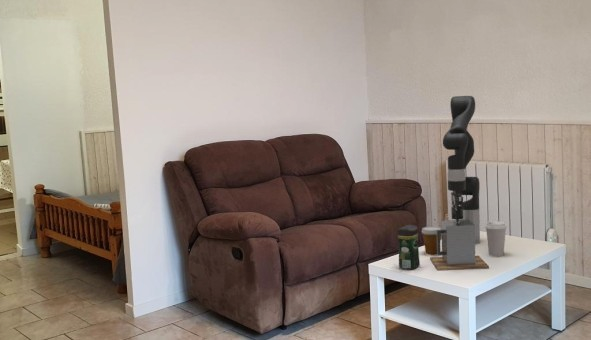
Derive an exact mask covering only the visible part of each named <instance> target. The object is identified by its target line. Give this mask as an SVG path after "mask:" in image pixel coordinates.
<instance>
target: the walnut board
mask: <svg viewBox="0 0 591 340" xmlns="http://www.w3.org/2000/svg"><path fill="white" fill-rule="evenodd" d="M429 260H430V262H431V263H432V266H434V268H435V270H436V271H453V270H454V271H458V270H484V269H490V266H489V264H488V263H487V262H486V261H485V260H484V259H482V257H481V256H480V255H475V265H456V266H447V265H446V263H445V262H444V260H443V259H442V256H433V257H429Z"/></svg>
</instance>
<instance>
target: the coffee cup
mask: <svg viewBox="0 0 591 340" xmlns="http://www.w3.org/2000/svg"><path fill="white" fill-rule="evenodd" d="M484 228H485V230H486V231H485V232H486V239H487V241H486V242H487V247H488V248H487V249H488V255H489V256H490V257H503V256H504V255H505V241H506V229H508V227H507V224H506V223H505V222H504V221H499V220H489V221H487V222H486V223H485V226H484Z"/></svg>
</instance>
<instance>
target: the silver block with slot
mask: <svg viewBox="0 0 591 340" xmlns="http://www.w3.org/2000/svg"><path fill="white" fill-rule="evenodd" d="M440 226H441V227H440V228H441V230H436V233H437V254H436V256H441V257H442V259H443V260H444V262H445V263H446V265H447V266H456V265H475V256H476V244H475V224H473V223H472V222H471V221H470V220H469V219H466V220H461V219H459V223H456V219H448V220H447V219H446V220H440ZM440 233H441V241H440Z"/></svg>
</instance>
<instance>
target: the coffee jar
mask: <svg viewBox="0 0 591 340" xmlns="http://www.w3.org/2000/svg"><path fill="white" fill-rule="evenodd" d="M397 239H398V267H399V269H402V270H414V269H416V268H418V267H419V266H420V262H421V261H420V252H419V227H418V226H417V225H416V224H415V225H414V224H406V225H404V226H402V227H400V228H397Z"/></svg>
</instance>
